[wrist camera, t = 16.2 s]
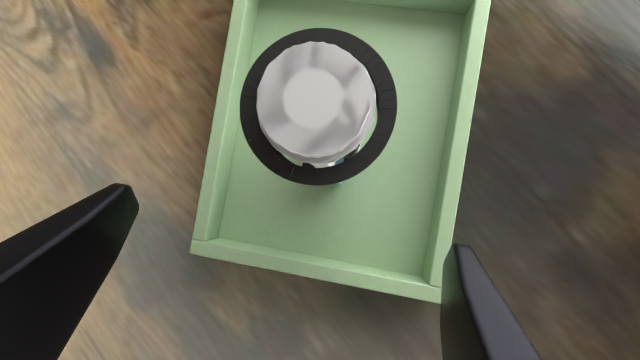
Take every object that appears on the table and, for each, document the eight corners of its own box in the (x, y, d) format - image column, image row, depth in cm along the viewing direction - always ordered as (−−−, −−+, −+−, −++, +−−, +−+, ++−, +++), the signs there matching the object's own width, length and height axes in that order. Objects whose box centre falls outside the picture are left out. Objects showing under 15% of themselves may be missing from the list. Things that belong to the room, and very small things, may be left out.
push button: (302, 69, 21) (253, -38, 11) (392, 82, 21) (422, -19, 11) (282, 179, 21) (215, 168, 11) (372, 196, 21) (384, 199, 11)
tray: (431, 290, 21) (441, 304, 18) (208, 246, 22) (188, 253, 20) (477, 8, 21) (494, -18, 18) (254, -16, 23) (240, -43, 20)
